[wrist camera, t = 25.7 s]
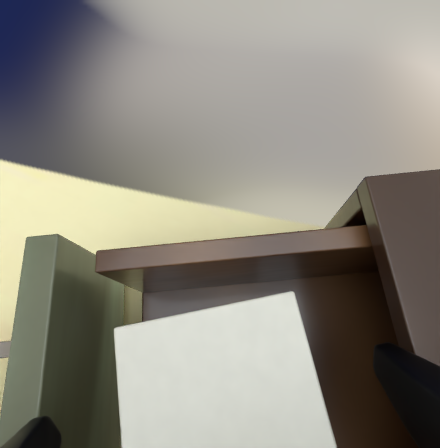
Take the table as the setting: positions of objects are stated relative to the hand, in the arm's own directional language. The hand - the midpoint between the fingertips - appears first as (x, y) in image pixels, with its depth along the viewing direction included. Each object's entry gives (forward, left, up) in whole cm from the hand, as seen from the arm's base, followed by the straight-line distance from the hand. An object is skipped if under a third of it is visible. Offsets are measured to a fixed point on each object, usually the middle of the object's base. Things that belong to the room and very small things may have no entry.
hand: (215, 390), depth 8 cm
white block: (0, 0, -6) cm, 6 cm away
